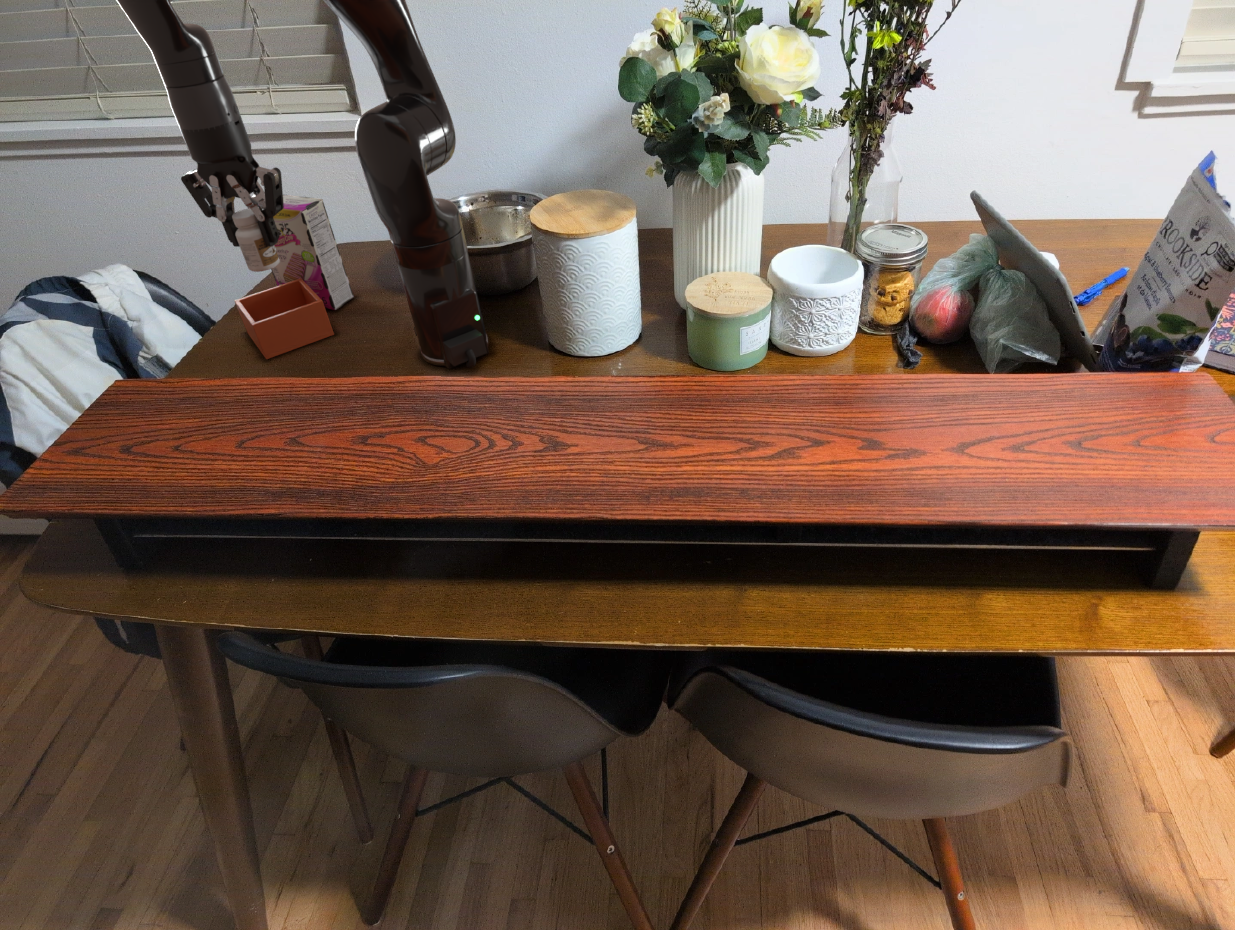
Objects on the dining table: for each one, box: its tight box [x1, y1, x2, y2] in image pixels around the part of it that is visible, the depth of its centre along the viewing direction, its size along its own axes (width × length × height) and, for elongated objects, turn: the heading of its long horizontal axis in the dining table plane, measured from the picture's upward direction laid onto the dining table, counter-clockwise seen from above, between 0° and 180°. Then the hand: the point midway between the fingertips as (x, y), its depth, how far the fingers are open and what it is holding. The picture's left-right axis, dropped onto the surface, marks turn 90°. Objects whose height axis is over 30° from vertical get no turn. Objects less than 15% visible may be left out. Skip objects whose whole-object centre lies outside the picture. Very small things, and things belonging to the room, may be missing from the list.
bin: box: [233, 278, 335, 360], centre depth 125 cm, size 10×10×6 cm
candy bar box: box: [246, 193, 354, 311], centre depth 130 cm, size 11×5×16 cm, turn 65°
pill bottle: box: [232, 208, 280, 273], centre depth 118 cm, size 4×4×8 cm
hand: (256, 243), depth 118 cm, fingers closed on pill bottle, 4 cm apart
